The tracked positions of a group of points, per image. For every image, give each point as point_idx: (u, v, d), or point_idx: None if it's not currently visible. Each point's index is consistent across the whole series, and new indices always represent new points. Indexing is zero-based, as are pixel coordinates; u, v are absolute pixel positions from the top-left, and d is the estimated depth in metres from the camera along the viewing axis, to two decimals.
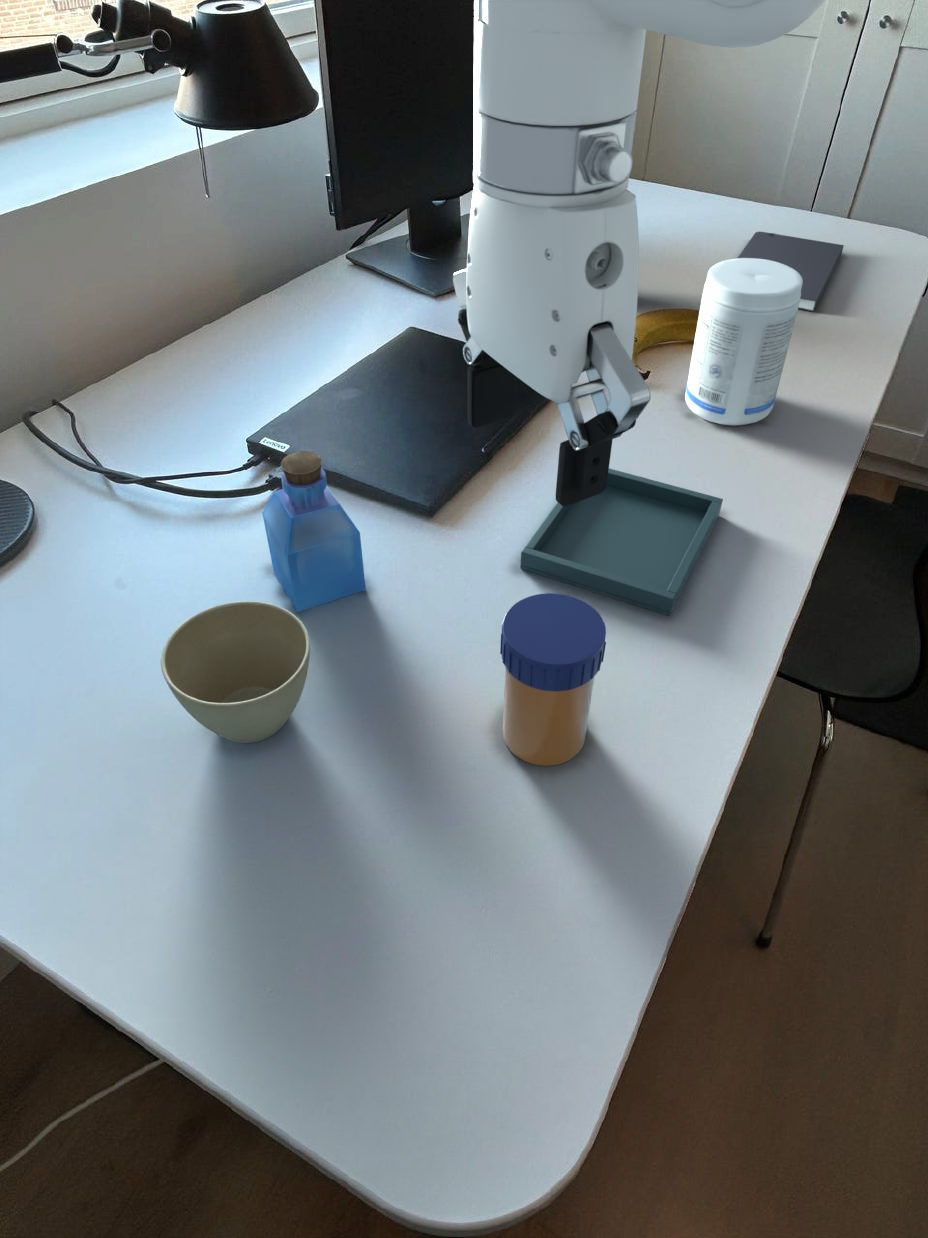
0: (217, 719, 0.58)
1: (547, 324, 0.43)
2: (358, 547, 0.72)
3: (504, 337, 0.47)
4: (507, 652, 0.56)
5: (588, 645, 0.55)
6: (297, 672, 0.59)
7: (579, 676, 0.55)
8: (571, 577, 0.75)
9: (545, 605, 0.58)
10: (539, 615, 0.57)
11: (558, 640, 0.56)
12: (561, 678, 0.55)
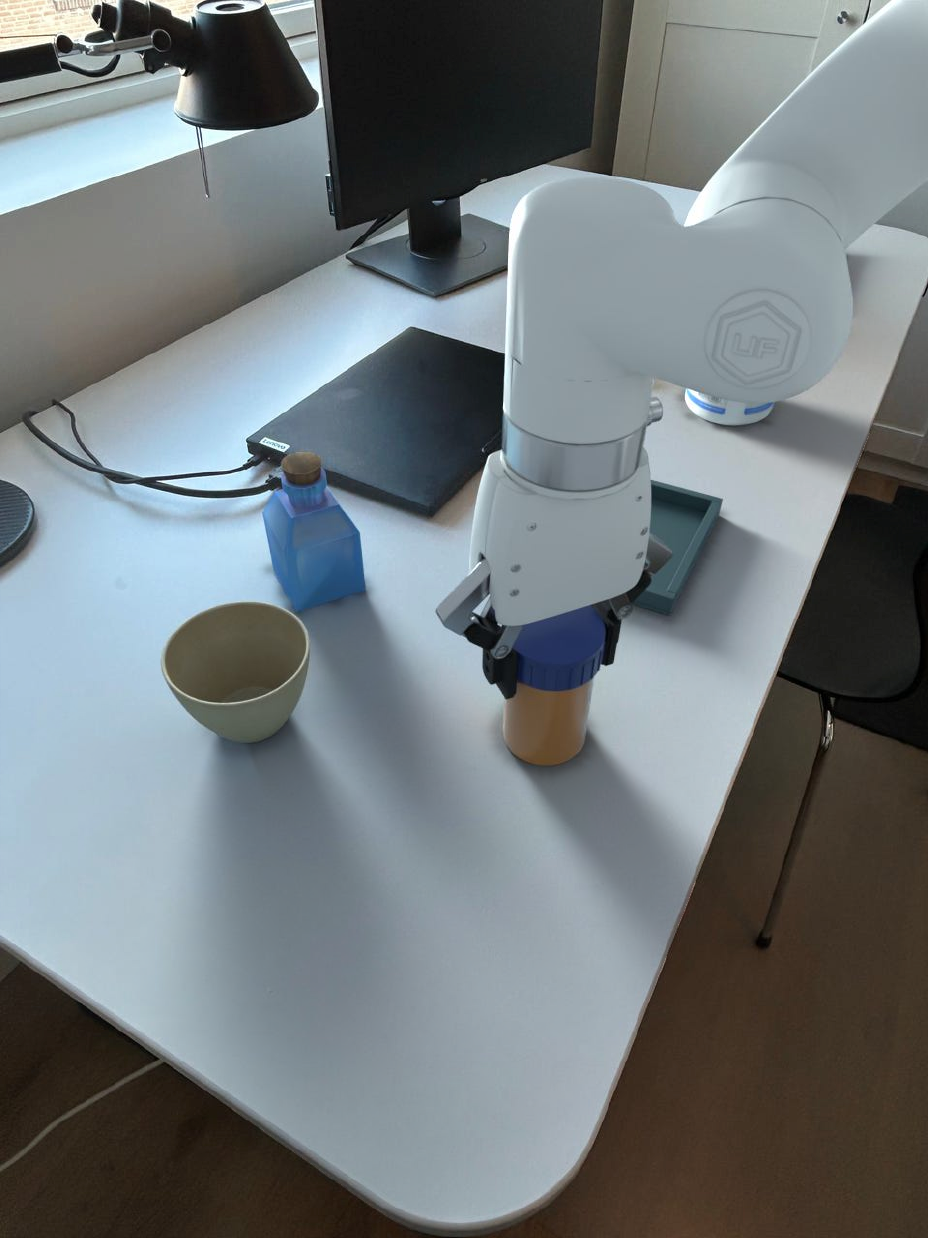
0: (217, 719, 0.58)
1: (635, 543, 0.51)
2: (358, 547, 0.72)
3: (577, 589, 0.51)
4: None
5: (588, 645, 0.55)
6: (297, 672, 0.59)
7: (579, 676, 0.55)
8: None
9: None
10: None
11: (558, 640, 0.56)
12: (561, 678, 0.55)
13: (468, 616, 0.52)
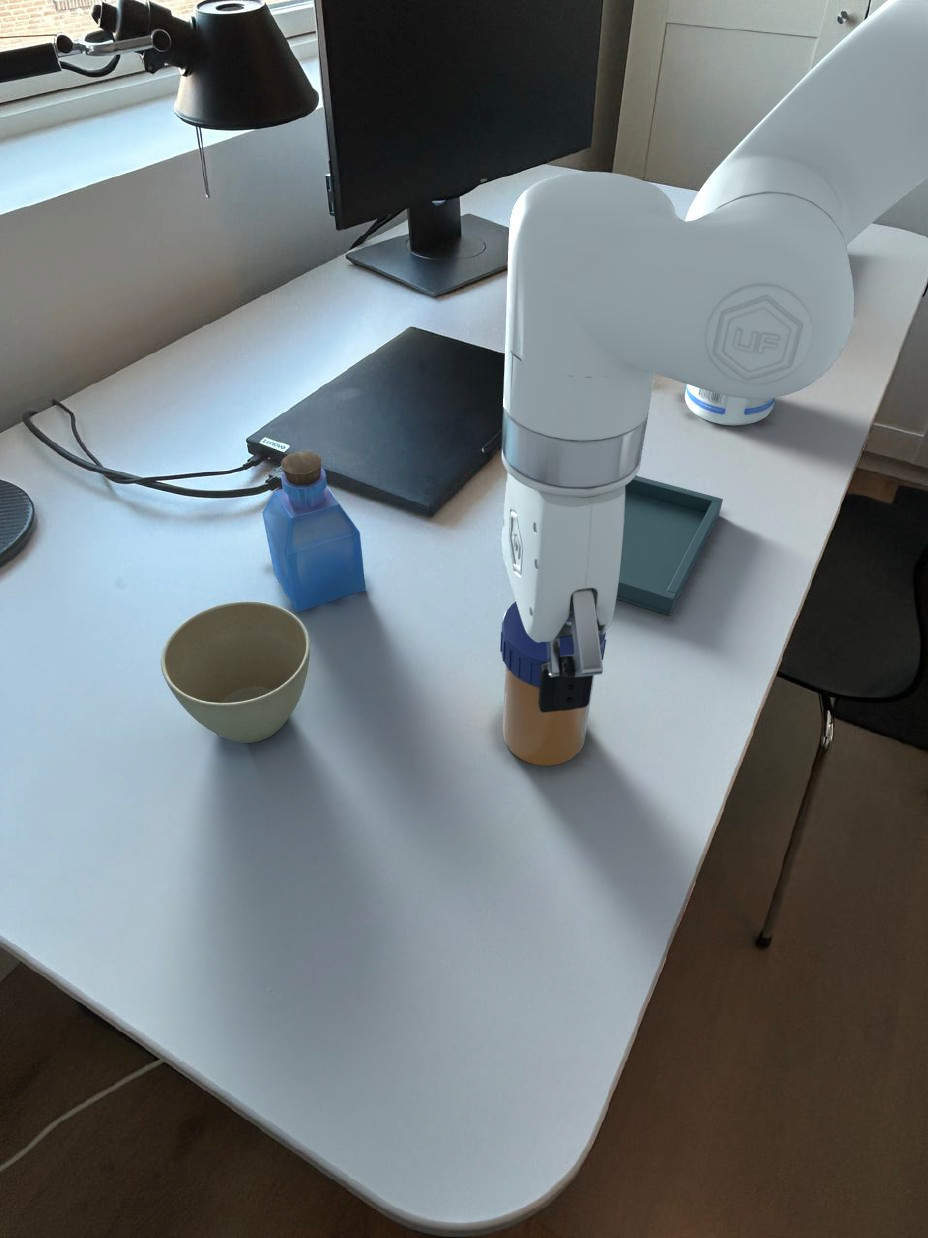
0: (217, 719, 0.58)
1: None
2: (358, 547, 0.72)
3: None
4: None
5: None
6: (297, 672, 0.59)
7: None
8: None
9: (521, 623, 0.56)
10: None
11: None
12: (604, 644, 0.57)
13: None
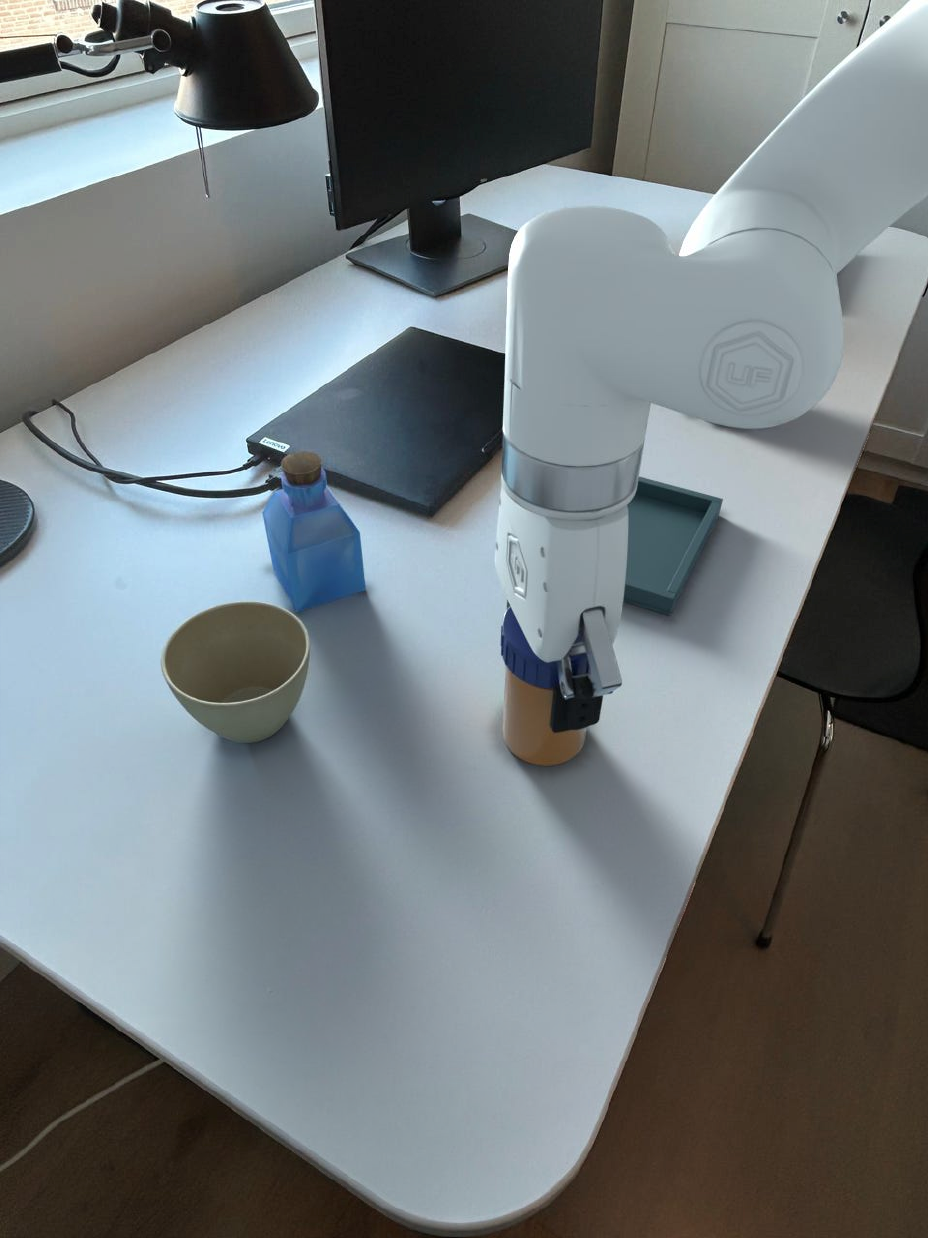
0: (217, 719, 0.58)
1: None
2: (358, 547, 0.72)
3: None
4: None
5: None
6: (297, 672, 0.59)
7: None
8: None
9: None
10: None
11: None
12: None
13: None
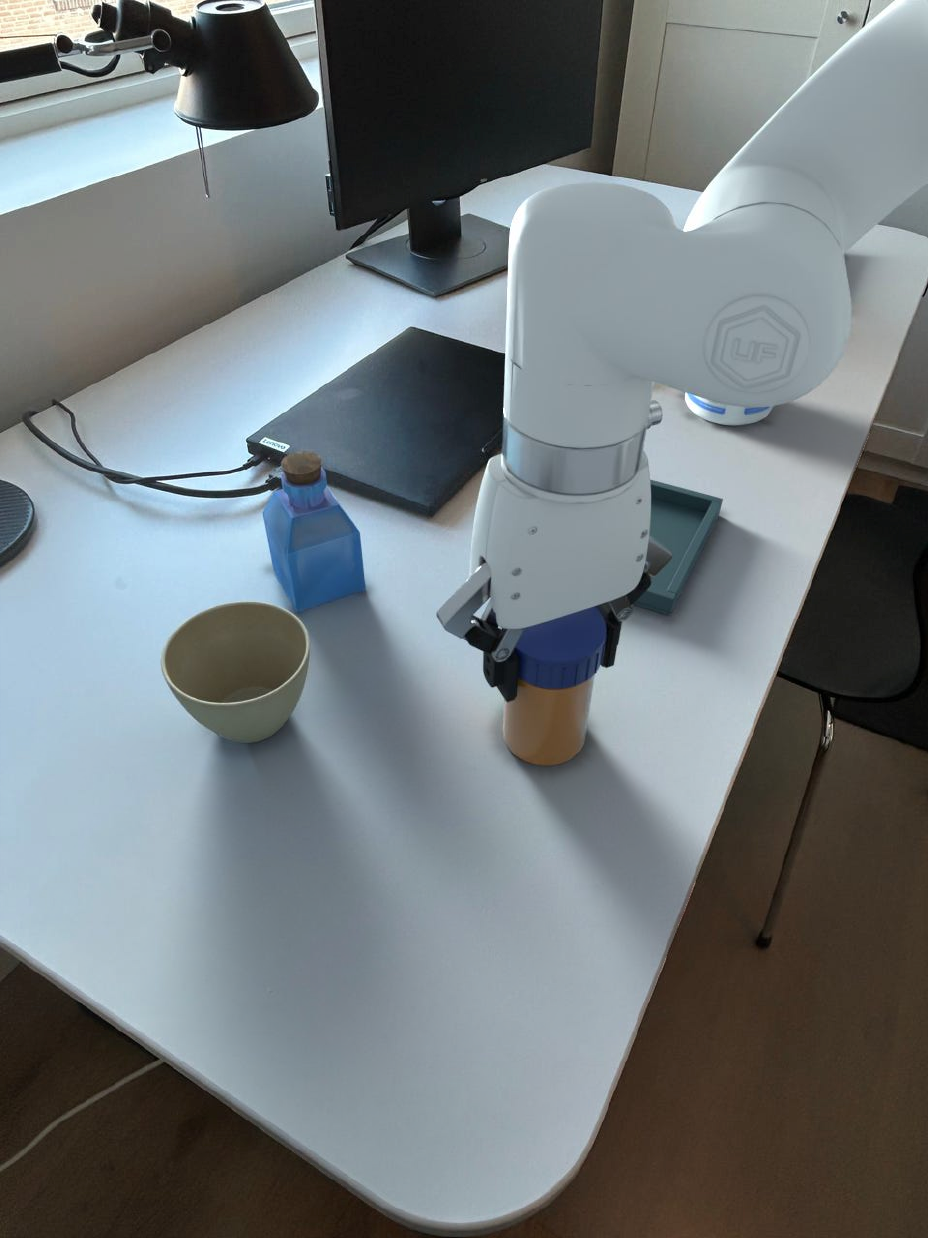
0: (217, 719, 0.58)
1: (635, 545, 0.51)
2: (358, 547, 0.72)
3: (577, 592, 0.52)
4: (571, 670, 0.55)
5: None
6: (297, 672, 0.59)
7: None
8: None
9: None
10: (536, 631, 0.56)
11: (573, 624, 0.56)
12: None
13: (469, 619, 0.52)
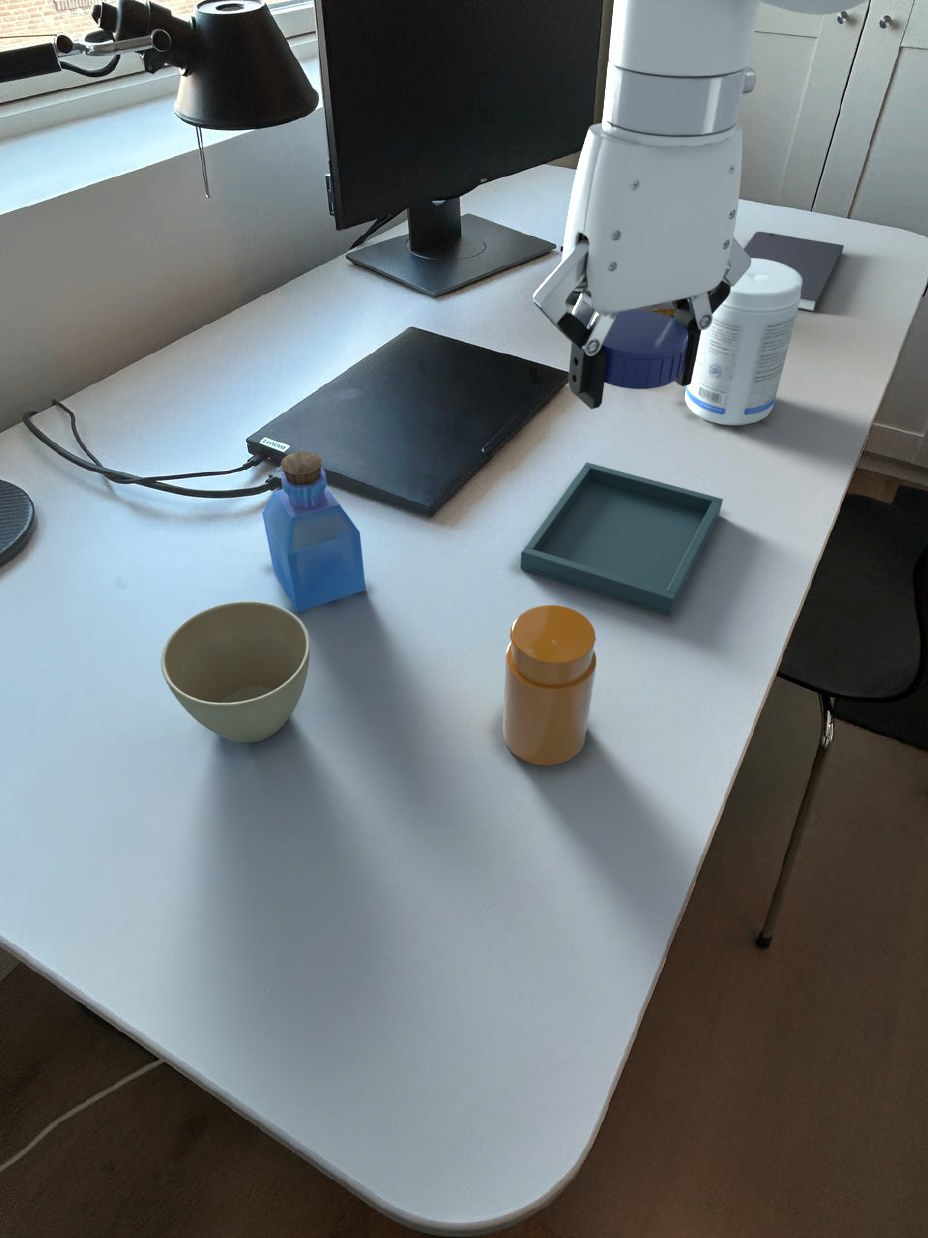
0: (217, 719, 0.58)
1: (723, 226, 0.54)
2: (358, 547, 0.72)
3: (668, 273, 0.54)
4: (657, 366, 0.57)
5: (662, 319, 0.60)
6: (297, 672, 0.59)
7: None
8: (571, 577, 0.75)
9: None
10: (621, 335, 0.58)
11: (656, 330, 0.59)
12: None
13: (564, 301, 0.54)
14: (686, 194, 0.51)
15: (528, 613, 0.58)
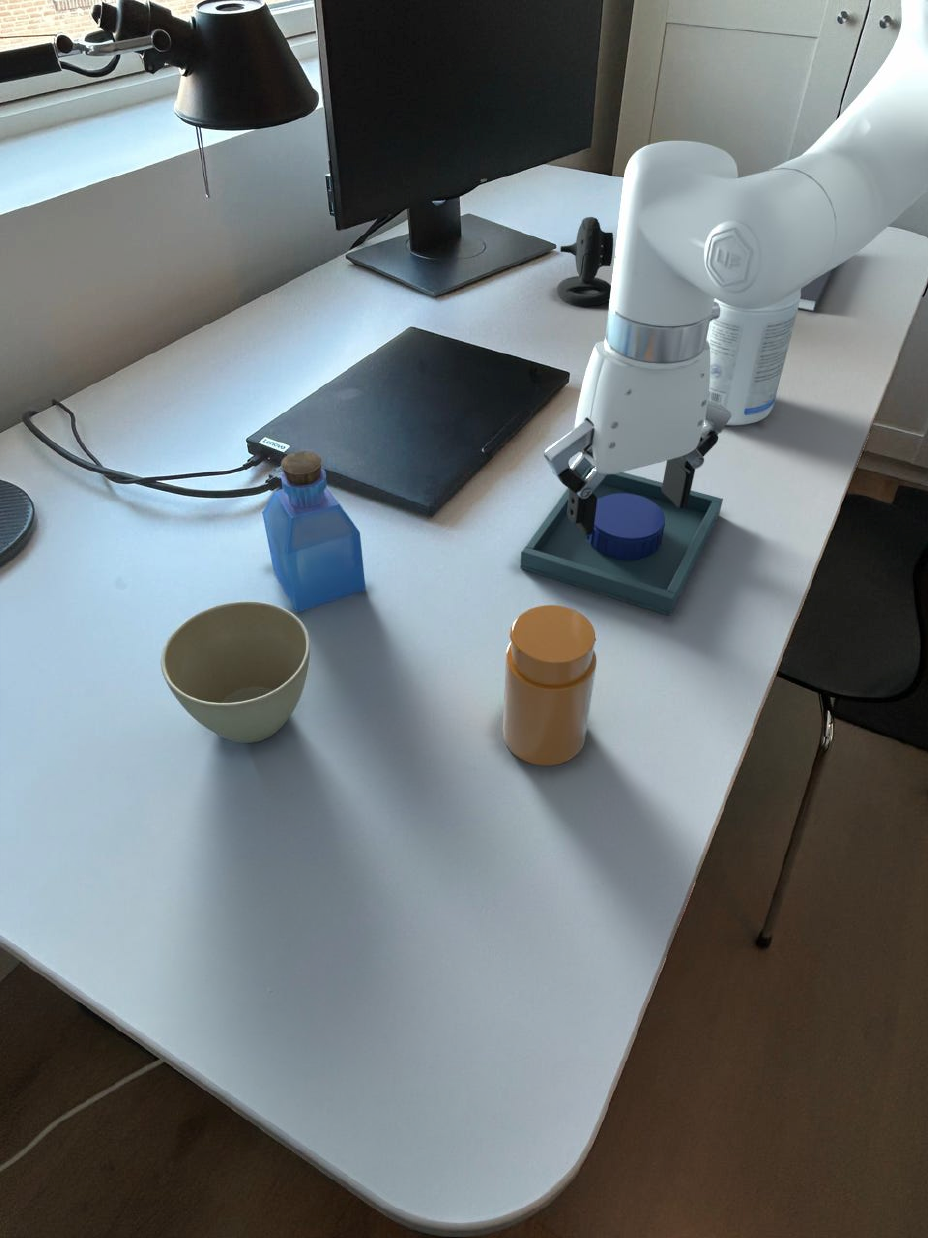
0: (217, 719, 0.58)
1: (697, 412, 0.70)
2: (358, 547, 0.72)
3: (654, 446, 0.71)
4: (640, 545, 0.76)
5: (646, 503, 0.79)
6: (297, 672, 0.59)
7: None
8: (571, 577, 0.75)
9: (603, 515, 0.78)
10: (614, 519, 0.78)
11: (640, 515, 0.78)
12: None
13: (568, 460, 0.70)
14: (667, 395, 0.67)
15: (528, 613, 0.58)
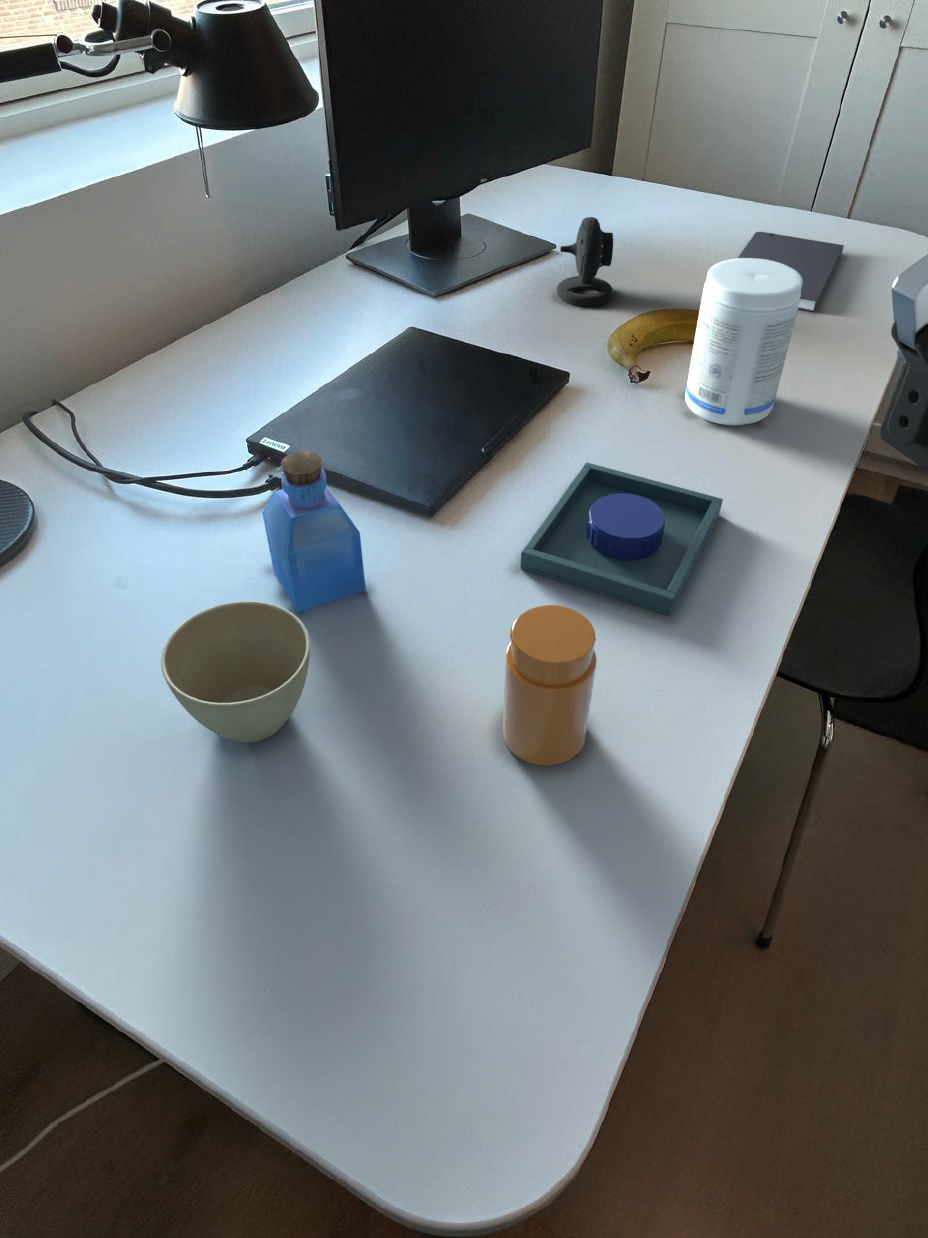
0: (217, 719, 0.58)
1: None
2: (358, 547, 0.72)
3: None
4: (640, 545, 0.76)
5: (646, 503, 0.79)
6: (297, 672, 0.59)
7: None
8: (571, 577, 0.75)
9: (603, 515, 0.78)
10: (614, 519, 0.78)
11: (640, 515, 0.78)
12: None
13: None
14: None
15: (528, 613, 0.58)
